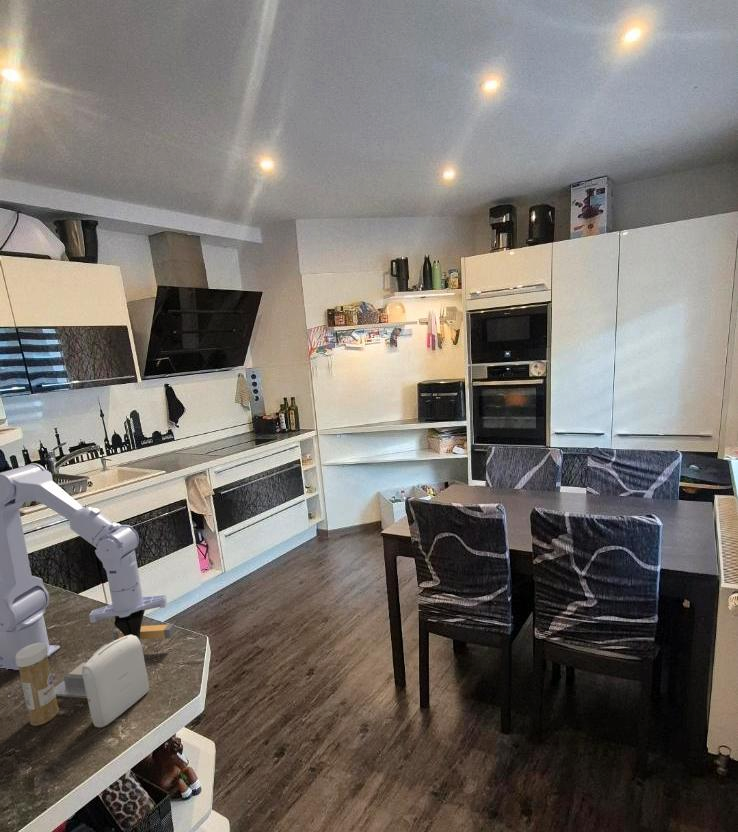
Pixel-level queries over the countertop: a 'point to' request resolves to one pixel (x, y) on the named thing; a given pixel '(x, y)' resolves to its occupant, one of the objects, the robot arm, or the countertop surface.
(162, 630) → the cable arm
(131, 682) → the photo printer
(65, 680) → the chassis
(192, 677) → the countertop surface
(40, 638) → the robot arm
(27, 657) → the sprinkles bottle
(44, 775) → the countertop surface
